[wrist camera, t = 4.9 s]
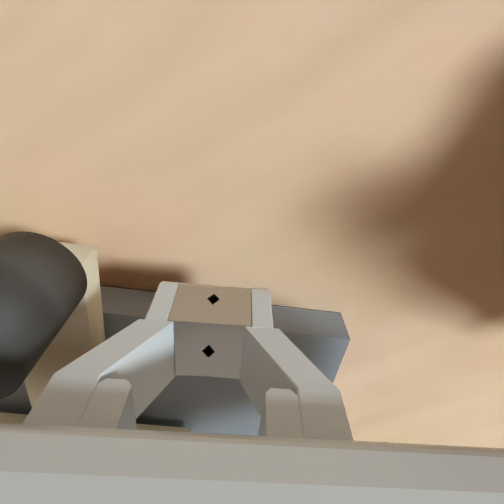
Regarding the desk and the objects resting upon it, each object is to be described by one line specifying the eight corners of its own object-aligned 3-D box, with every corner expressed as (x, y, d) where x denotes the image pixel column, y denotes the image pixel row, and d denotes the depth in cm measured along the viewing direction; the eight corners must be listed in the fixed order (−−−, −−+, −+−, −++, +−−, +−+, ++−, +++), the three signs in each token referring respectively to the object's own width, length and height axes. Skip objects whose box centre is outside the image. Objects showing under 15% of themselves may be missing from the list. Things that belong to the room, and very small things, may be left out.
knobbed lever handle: (182, 524, 19) (167, 630, 15) (15, 514, 18) (-42, 622, 14) (210, 236, 10) (187, 334, 6) (-123, 194, 9) (-356, 277, 6)
